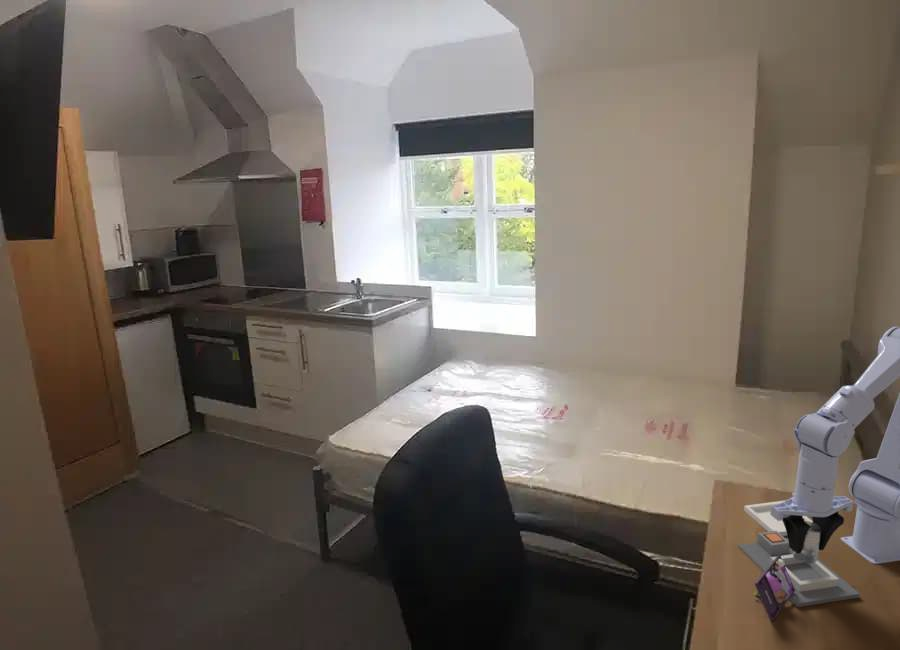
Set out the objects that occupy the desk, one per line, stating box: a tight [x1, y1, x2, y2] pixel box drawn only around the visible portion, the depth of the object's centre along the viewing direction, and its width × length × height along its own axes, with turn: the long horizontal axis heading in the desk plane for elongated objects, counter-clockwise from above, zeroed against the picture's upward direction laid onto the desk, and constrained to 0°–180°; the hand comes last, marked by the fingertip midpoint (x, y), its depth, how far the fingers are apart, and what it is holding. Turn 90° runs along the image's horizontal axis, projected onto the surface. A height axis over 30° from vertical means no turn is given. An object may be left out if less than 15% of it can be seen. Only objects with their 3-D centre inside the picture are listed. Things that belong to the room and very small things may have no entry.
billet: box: [792, 521, 821, 563], centre depth 105 cm, size 4×4×6 cm
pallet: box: [737, 531, 861, 608], centre depth 108 cm, size 12×16×3 cm
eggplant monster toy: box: [753, 556, 795, 621], centre depth 101 cm, size 7×5×9 cm
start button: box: [765, 533, 783, 543], centre depth 114 cm, size 2×2×2 cm
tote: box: [743, 499, 813, 537], centre depth 123 cm, size 10×10×1 cm
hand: (806, 548), depth 105 cm, fingers closed on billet, 4 cm apart
